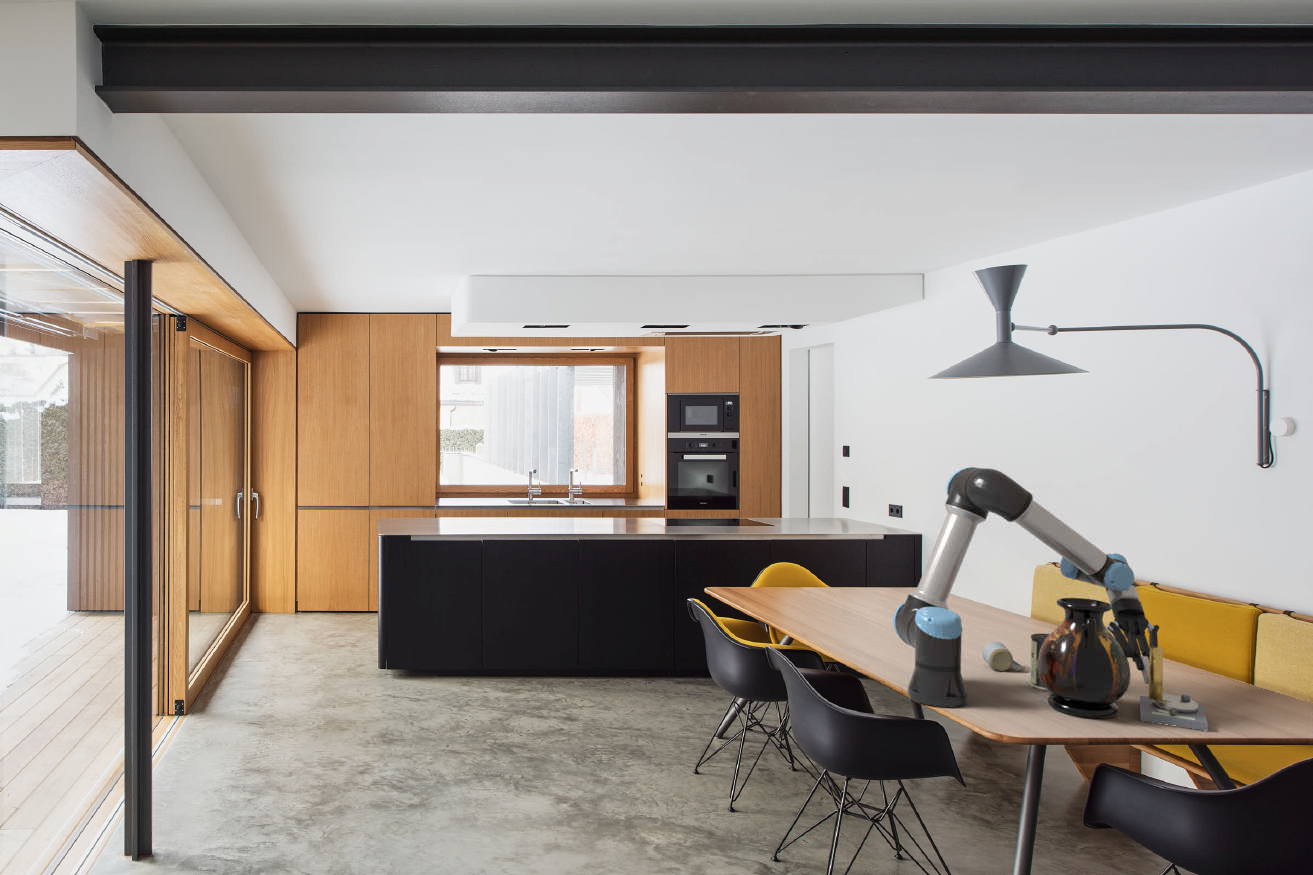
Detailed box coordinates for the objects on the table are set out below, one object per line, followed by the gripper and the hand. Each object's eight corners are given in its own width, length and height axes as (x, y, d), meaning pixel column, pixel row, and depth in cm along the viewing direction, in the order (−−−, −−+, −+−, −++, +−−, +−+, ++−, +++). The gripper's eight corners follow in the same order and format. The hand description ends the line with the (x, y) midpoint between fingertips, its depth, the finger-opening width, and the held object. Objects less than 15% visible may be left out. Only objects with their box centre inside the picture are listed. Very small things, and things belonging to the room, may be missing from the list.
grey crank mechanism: (1207, 731, 199) (1207, 715, 199) (1140, 720, 206) (1140, 705, 206) (1201, 711, 215) (1202, 697, 215) (1139, 702, 222) (1139, 688, 222)
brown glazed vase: (1141, 727, 201) (1142, 612, 201) (1044, 717, 207) (1046, 605, 207) (1117, 702, 222) (1118, 597, 222) (1030, 693, 228) (1031, 592, 228)
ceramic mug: (989, 671, 250) (990, 646, 250) (981, 664, 259) (982, 640, 259) (1025, 674, 249) (1026, 648, 249) (1016, 667, 257) (1017, 642, 257)
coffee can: (1078, 690, 232) (1079, 640, 232) (1047, 693, 229) (1048, 641, 229) (1051, 680, 242) (1052, 632, 242) (1022, 682, 239) (1022, 633, 239)
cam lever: (1206, 713, 206) (1207, 654, 206) (1159, 711, 207) (1160, 652, 207) (1185, 701, 216) (1185, 645, 216) (1140, 699, 217) (1141, 643, 217)
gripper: (1105, 594, 229) (1128, 671, 213) (1155, 598, 228) (1182, 676, 211) (1096, 609, 235) (1118, 686, 218) (1145, 613, 233) (1171, 690, 217)
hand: (1150, 681), depth 215 cm, fingers closed
